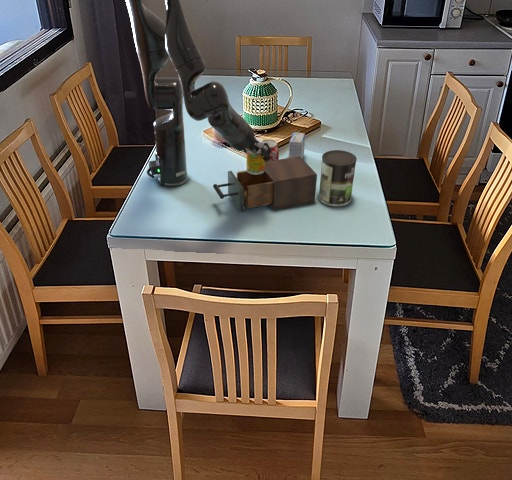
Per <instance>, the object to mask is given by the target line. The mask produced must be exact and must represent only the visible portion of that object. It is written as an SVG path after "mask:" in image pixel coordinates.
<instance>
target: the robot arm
mask: <svg viewBox="0 0 512 480" xmlns="http://www.w3.org/2000/svg"><path fill="white" fill-rule="evenodd" d="M124 1H125V2H126V3H125V4H126V7H127V10H128V11H127V12H128V14H129V18H130V23H131V28H132V34H133V41H134V44H135V48H136V53H137V57H138V60H139V64H140V69H141V73H142V81H143V88H144V95H145V101H146V103H147V106H148V108H149V109H150V110H154V111H170V112H169V113H167V114H165V115H162V116H160V117H157V119H155V120H154V122H153V131H154V132H153V133H154V143H155V151H154V157H155V160H148V169H147V170H146V174H147V175H148V177H150V178H151V179H154V178H155V177H157V180H158V182H159V184H160V186H161V187H163V186H167V187H179V186H181V185H184V184H185V183H186V182H187V181H188V178H189V177H188V169H187V155H186V154H187V153H186V139H185V125H184V124H185V123H184V107H185V110H186V113H187V114H188V116H189V117H190V119H193V120H194V121H197V122H202V121H204V120H206V119H207V121H208V124H209V125H210V126H211V127H212V129H213V128H214V129H215V130H216V131H217V132H218V133H219V134H220V136H221V137H222V138H223V139H224V140H225V141H226V143H227V144H228V145H229V146H230V147H231V148H232V149H233V150H236V151H241V152H243V153H244V154H246V155H247V151H250V152H252V153H253V154H255V155H259V156H261V157H262V159H263V160H264V161H269V159H270V153H271V151H272V150H271V148H270V147H269V145H268V144H267V143H264V144H262V143H260V142H259V141H258V140H257V139H256V138H255V137H256V136H255V131H254V128H253V127H252V126H251V124H249V123H248V121H247V120H245V118H244V117H242V115H241V114H239V113H238V112H237V111H236V110H235V109H234V108H233V107H232V105H231V103H230V99H229V97H228V93H227V90H226V88H225V87H224V85H223V84H222V83H220V82H219V81H214V80H213V81H209V82H208V83H206V84H204V85H202V86H200V87H197V88H195V87H196V81H197V80H198V79H199V78H200V77H202V76H203V74H204V73H205V72H206V70H207V66H206V65H207V64H206V62H205V60H204V58H203V56H202V54H201V51H200V50H199V48H198V46H197V43H196V42H195V39H194V36H193V35H192V31H191V29H190V26H189V24H188V21H187V18H186V14H185V12H184V9H183V5H182V2H181V0H164V3H165V9H166V14H165V15H166V17H165V22H164V21H163V20H162V18H161V17H159V16H158V15H157V14H155V13H154V12H153V11H151V10H150V9H149V8H148V7H146V5H144V3H143V0H124ZM169 60H170V62H171V64H172V65H173V68H174V70H175V72H176V74H177V76H178V77H157V76H158V74H159V73H160V71H161V70H163V68H164V67H165V65H166V64H167V62H168V61H169ZM183 103H184V104H183ZM183 105H184V106H183ZM254 150H255V151H254ZM260 150H261V151H260ZM260 152H261V153H260Z"/></svg>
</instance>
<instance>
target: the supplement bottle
mask: <svg viewBox="0 0 512 480" xmlns="http://www.w3.org/2000/svg"><path fill="white" fill-rule="evenodd" d="M255 138H256V139H257V140H258V141H259V142H260V143H262V144H263V140H264V139H263V138H261V137H259V136H258V137H256V136H255ZM254 151H255V150H254ZM260 151H261V150H260ZM260 153H261V152H260ZM246 170H247V172H248V173H250V174H254V175H257V174H262V173H263V172H264V170H265V161H264V160H263V159H262V157H261V156H259V155H255V154H253V153H252V152H250V151H247V154H246Z"/></svg>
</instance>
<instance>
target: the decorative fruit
mask: <svg viewBox="0 0 512 480" xmlns="http://www.w3.org/2000/svg"><path fill="white" fill-rule="evenodd" d="M212 134H213V136H214V138H215V139H216V140H217V141H219V142H220V143H224V144H226V143H227V142H226V141H225V140H224V139H223V138H222V137H221V136H220V134H219V133H218V132H217V131H216V130H215V129H214V128H213V127H212Z"/></svg>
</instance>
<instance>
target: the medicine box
mask: <svg viewBox="0 0 512 480" xmlns="http://www.w3.org/2000/svg"><path fill="white" fill-rule="evenodd" d="M305 142H306V133H304V132H292V135H291V137H290V140H289V144H288V158H292V157H298V156H300V157H301V158H302V159H303V160H304V157H305V146H306V145H305V144H306V143H305Z"/></svg>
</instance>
